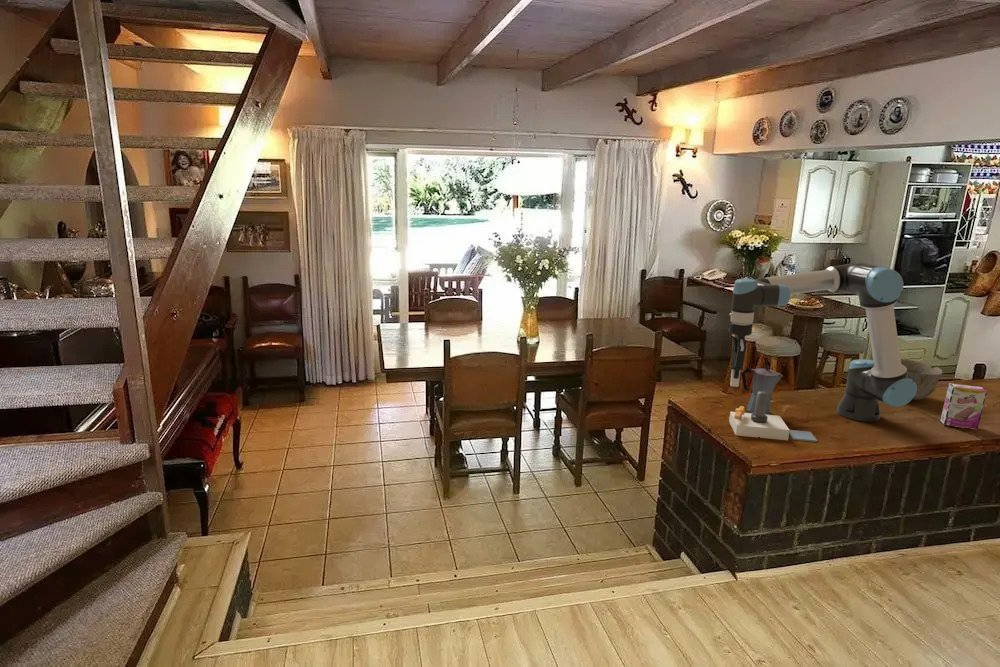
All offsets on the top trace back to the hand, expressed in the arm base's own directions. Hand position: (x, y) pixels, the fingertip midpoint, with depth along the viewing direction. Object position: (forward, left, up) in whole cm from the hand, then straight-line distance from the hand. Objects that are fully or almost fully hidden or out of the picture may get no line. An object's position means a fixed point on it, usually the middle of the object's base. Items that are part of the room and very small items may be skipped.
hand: (734, 385), depth 216 cm
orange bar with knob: (-4, -4, -12) cm, 13 cm away
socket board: (-11, -5, -18) cm, 22 cm away
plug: (-11, -5, -18) cm, 22 cm away
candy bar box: (-90, -29, -19) cm, 96 cm away
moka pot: (-15, -25, -19) cm, 35 cm away
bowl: (-84, -60, -19) cm, 105 cm away
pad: (-26, -3, -18) cm, 32 cm away
